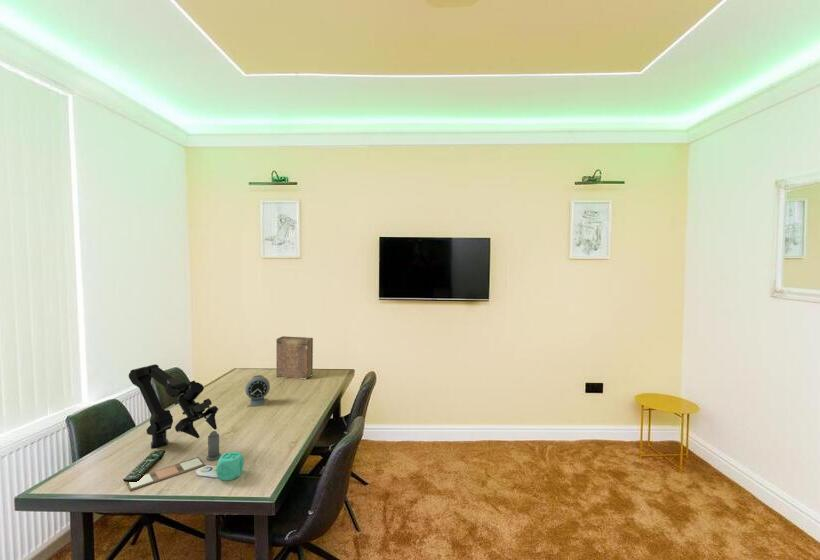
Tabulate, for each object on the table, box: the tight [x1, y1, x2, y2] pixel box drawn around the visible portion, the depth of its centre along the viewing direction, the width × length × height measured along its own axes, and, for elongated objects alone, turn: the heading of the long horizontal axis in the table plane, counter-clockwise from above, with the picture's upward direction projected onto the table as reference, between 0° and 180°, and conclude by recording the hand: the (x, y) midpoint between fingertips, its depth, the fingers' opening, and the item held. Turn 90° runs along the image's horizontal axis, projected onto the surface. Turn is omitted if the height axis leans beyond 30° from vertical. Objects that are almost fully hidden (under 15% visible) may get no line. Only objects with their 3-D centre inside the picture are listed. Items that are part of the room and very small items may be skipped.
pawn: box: [206, 430, 222, 462], centre depth 167 cm, size 6×6×12 cm
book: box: [276, 335, 314, 380], centre depth 287 cm, size 25×9×30 cm, turn 81°
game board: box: [125, 456, 206, 492], centre depth 154 cm, size 9×26×1 cm, turn 136°
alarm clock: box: [244, 374, 271, 408], centre depth 232 cm, size 14×10×18 cm
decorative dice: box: [215, 451, 245, 482], centre depth 154 cm, size 8×8×8 cm
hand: (207, 433), depth 168 cm, fingers open, 9 cm apart
